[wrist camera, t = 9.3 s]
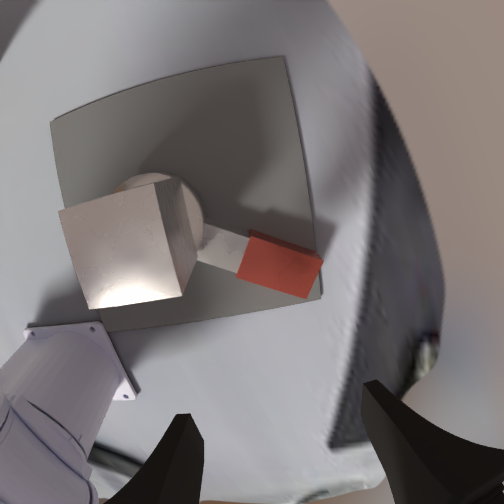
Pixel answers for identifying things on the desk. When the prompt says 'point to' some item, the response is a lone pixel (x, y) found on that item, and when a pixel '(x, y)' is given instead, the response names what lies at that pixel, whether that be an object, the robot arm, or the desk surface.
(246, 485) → the desk surface
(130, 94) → the mat
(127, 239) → the pale grey cube
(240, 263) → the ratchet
